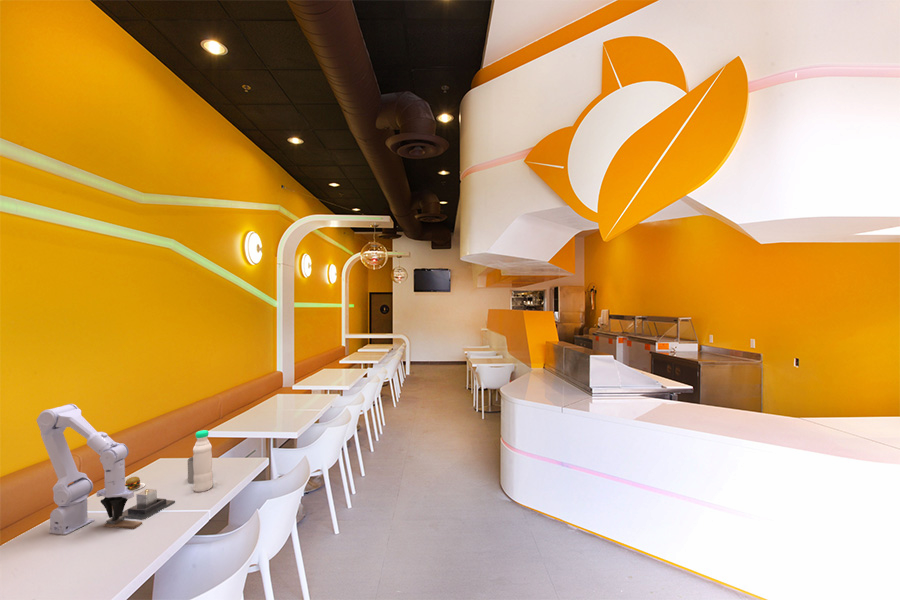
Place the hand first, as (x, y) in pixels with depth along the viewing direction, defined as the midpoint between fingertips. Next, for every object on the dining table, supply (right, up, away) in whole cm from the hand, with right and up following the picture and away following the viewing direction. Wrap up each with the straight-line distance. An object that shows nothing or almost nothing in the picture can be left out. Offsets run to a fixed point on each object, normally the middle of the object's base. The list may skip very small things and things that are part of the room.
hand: (115, 516), depth 145 cm
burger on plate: (-18, -5, +30) cm, 35 cm away
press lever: (0, -2, 0) cm, 2 cm away
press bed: (+3, -3, +11) cm, 11 cm away
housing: (+3, -2, +11) cm, 11 cm away
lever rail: (+4, -3, -1) cm, 5 cm away
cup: (+7, -4, +37) cm, 38 cm away
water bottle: (+15, -3, +28) cm, 31 cm away
